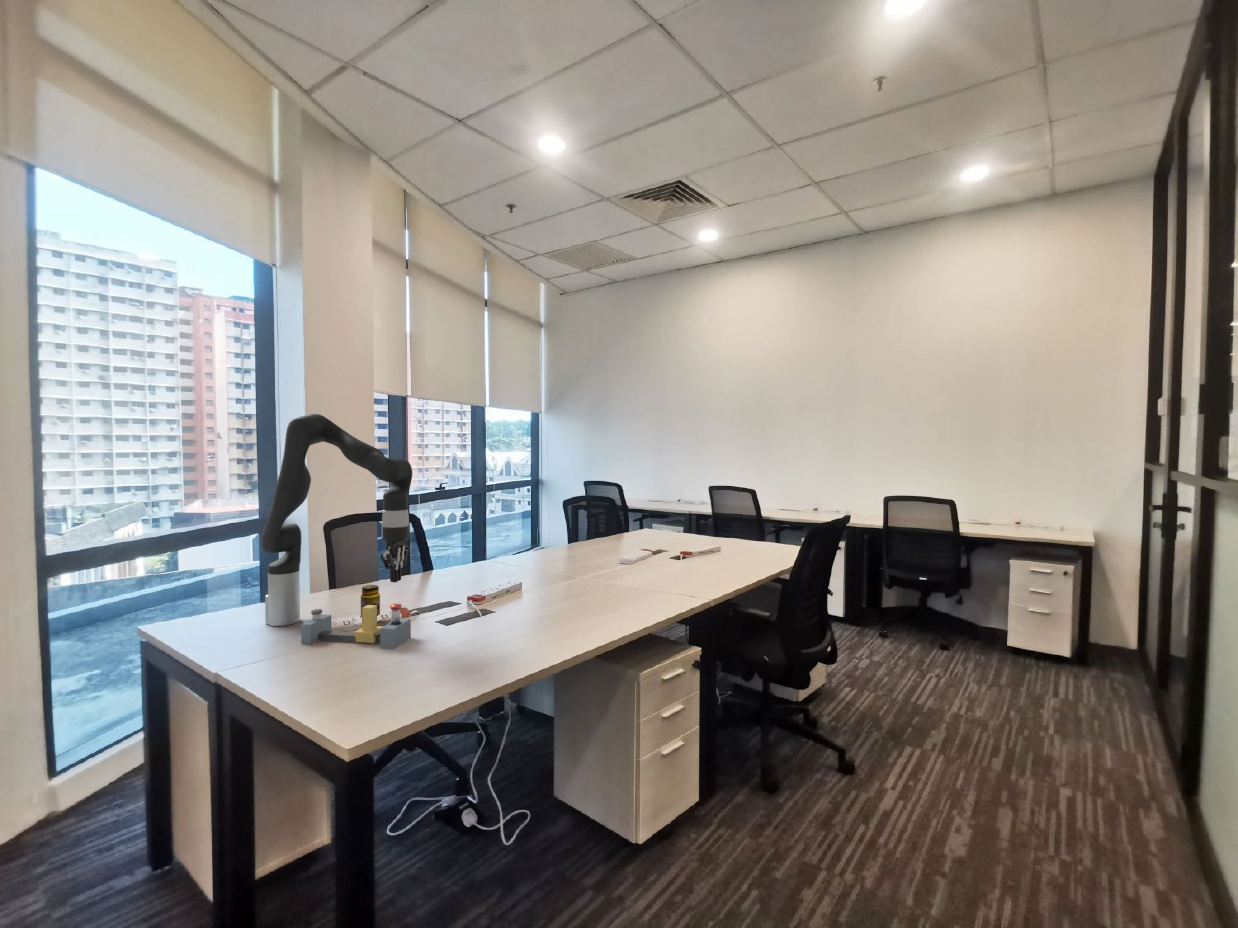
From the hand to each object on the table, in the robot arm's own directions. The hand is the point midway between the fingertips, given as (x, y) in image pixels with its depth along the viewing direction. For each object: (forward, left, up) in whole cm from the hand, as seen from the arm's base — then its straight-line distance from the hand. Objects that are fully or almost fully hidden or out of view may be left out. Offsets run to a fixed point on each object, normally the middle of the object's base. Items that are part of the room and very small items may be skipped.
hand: (395, 581), depth 170 cm
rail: (-13, 0, -19) cm, 23 cm away
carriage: (-9, 0, -19) cm, 21 cm away
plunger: (0, 0, -13) cm, 13 cm away
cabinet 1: (-26, 0, -19) cm, 32 cm away
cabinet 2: (0, 0, -19) cm, 19 cm away
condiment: (-20, +18, -19) cm, 33 cm away
